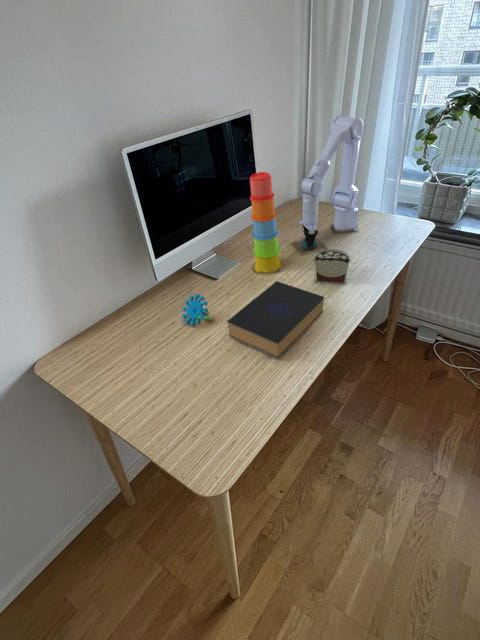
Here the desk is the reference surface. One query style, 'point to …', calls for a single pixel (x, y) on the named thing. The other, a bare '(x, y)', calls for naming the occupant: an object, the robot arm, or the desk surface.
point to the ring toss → (303, 249)
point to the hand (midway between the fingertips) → (309, 242)
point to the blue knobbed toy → (195, 310)
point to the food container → (331, 266)
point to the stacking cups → (264, 223)
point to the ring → (304, 243)
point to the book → (276, 318)
